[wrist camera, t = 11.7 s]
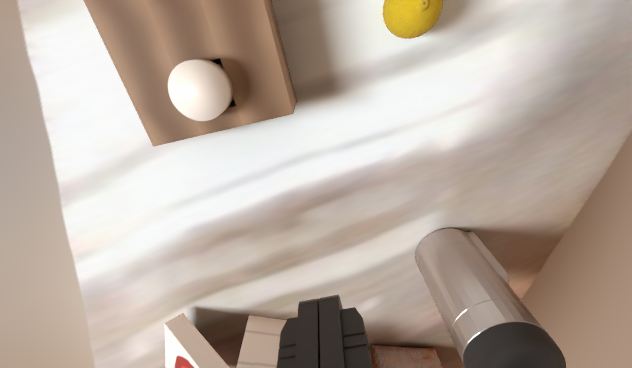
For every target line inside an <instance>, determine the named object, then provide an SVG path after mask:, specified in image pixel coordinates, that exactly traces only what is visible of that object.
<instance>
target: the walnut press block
mask: <svg viewBox="0 0 632 368" xmlns="http://www.w3.org/2000/svg"><path fill="white" fill-rule="evenodd" d="M84 2H85V4H86V6H87V8H88V11H89V13H90V15H91V17H92V19H93V21H94V23H95V25H96V27H97V29H98V31H99V34H100V36H101V38H102V40H103V42H104V44H105V46H106V48H107V50H108V52H109V55H110V57H111V59H112V61H113V63H114V65H115V67H116V69H117V71H118V73H119V76H120V78H121V80H122V82H123V84H124V86H125V88H126V90H127V92H128V94H129V96H130V99H131V101H132V103H133V105H134V107H135V109H136V111H137V113H138V115H139V117H140V120H141V122H142V124H143V126H144V128H145V130H146V132H147V134H148V136H149V138H150V141H151V143H152V145H153V146H158V145H162V144H166V143H170V142H175V141H179V140H183V139H187V138H192V137H196V136H200V135H204V134H209V133H213V132H217V131H222V130H226V129H230V128H234V127H239V126H243V125H247V124H251V123H256V122H260V121H264V120H268V119H273V118H277V117H281V116H286V115H290V114H293V113H294V109H295V106H296V103H297V101H296V97H295V93H294V89H293V85H292V81H291V77H290V73H289V69H288V65H287V61H286V57H285V54H284V50H283V46H282V42H281V38H280V34H279V30H278V26H277V22H276V18H275V14H274V10H273V6H272V2H271V0H84ZM195 59H205V60H209V61H216V60H220V59H221V62H222V65H223V68H224V71H225V72H226V73H227V75H228V77H229V78H230V81H231V84H232V89H233V98H234V100H233V101H232V102H231V103H230V105H229V107H228V108H227V109H226V110H225V111H224V112H223V113H221V114H220V115H219V116H217V117H216V118H214V119H212V120H209V121H196V120H193V119H190V118H188V117H186V116H185V115H183V114H182V113H181V112H179V111H178V110H177V108H176V107H175V106H174V104H173V103H172V101H171V99H170V96H169V92H168V79H169V76H170V74H171V72H172V70H173V69H174V68H175V67H176V66H177V65H178V64H180V63H182V62H184V61H189V60H195Z"/></svg>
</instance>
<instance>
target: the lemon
mask: <svg viewBox="0 0 632 368" xmlns="http://www.w3.org/2000/svg"><path fill="white" fill-rule="evenodd" d="M442 5H443V0H385V2H384V6H383V18H384V22H385V24H386V26H387V28H388V29H389V30H390V32H391V33H393V34H394V35H396V36H397V37H401V38H415V37H419V36H421V35H422V34H424V33H426V32H427V31H428V30H429V29H431V28H432V27H433V26H434V24H435V23H436V21H437V20H438V18H439V16H440V13H441V10H442Z"/></svg>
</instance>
